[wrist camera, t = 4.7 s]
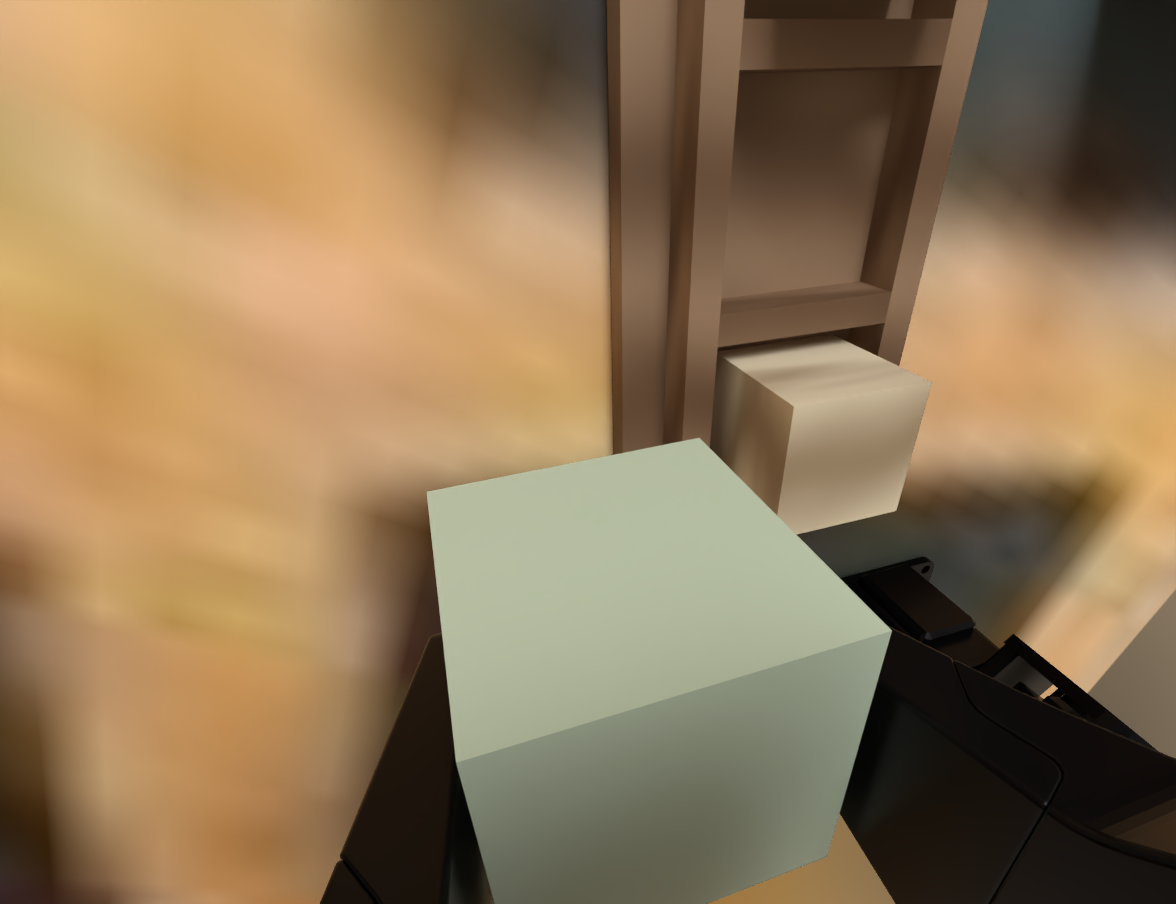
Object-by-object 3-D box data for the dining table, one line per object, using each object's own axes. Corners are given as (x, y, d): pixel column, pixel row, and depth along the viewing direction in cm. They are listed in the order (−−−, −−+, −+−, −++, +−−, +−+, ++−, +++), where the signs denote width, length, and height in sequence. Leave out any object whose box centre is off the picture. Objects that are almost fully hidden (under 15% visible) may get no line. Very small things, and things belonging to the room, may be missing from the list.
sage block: (690, 629, 12) (827, 856, 8) (471, 689, 11) (515, 978, 7) (699, 437, 10) (892, 631, 6) (426, 491, 9) (455, 762, 5)
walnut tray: (856, 458, 25) (899, 488, 23) (614, 508, 23) (637, 547, 21) (1032, -324, 14) (1143, -399, 12) (601, -399, 12) (648, -511, 10)
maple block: (811, 446, 23) (896, 510, 19) (706, 467, 22) (773, 539, 18) (831, 334, 21) (932, 382, 17) (714, 351, 19) (794, 406, 16)
